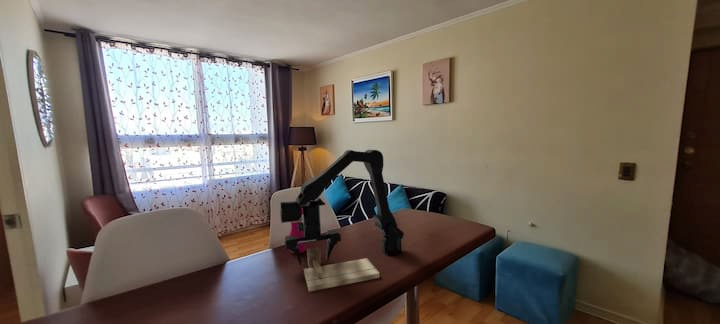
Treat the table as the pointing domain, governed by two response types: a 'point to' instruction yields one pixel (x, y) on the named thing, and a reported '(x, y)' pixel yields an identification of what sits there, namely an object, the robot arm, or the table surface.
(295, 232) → the pepper mill
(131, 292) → the table surface
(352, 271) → the board
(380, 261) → the table surface
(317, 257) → the wooden mallet
